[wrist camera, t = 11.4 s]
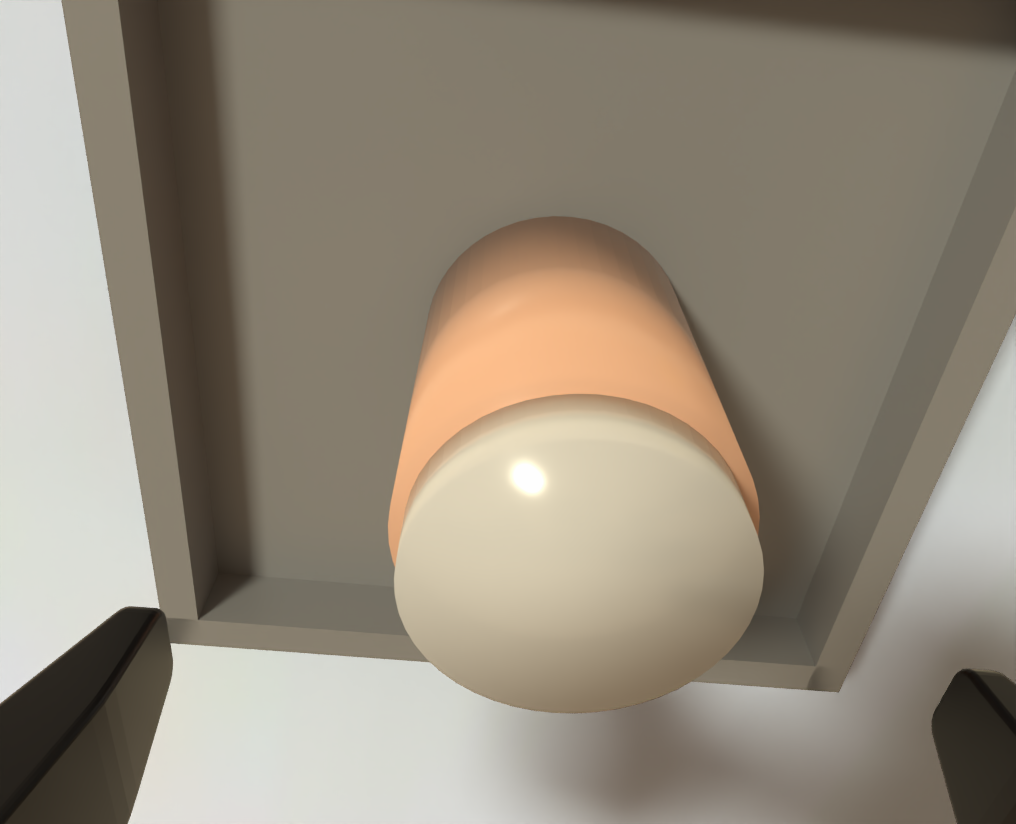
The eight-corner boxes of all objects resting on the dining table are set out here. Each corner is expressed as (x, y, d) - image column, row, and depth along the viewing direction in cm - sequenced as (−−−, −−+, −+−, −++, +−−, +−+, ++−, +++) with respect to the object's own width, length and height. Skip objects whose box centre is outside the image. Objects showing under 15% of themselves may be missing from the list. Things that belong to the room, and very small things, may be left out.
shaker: (707, 230, 15) (834, 445, 9) (653, 454, 18) (725, 734, 12) (433, 202, 15) (382, 405, 9) (420, 433, 18) (373, 709, 12)
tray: (1087, -75, 13) (1195, -70, 11) (806, 614, 22) (838, 692, 20) (107, -198, 13) (26, -217, 11) (200, 566, 21) (165, 642, 19)
